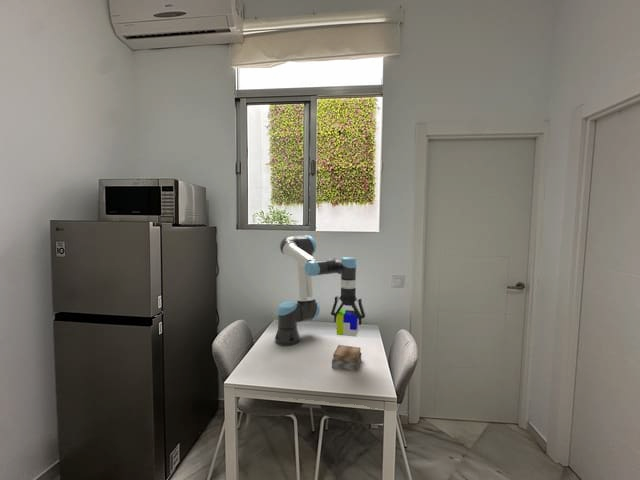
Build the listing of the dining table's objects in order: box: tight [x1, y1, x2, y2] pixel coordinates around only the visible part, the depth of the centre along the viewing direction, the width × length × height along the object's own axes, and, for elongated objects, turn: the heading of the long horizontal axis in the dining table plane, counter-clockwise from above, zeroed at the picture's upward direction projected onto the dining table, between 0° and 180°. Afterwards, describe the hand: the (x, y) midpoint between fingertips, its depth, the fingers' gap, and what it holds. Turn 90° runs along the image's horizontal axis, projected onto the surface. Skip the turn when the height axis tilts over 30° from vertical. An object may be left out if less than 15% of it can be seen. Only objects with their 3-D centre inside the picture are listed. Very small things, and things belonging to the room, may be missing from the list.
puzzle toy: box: [336, 309, 358, 337], centre depth 159 cm, size 10×10×10 cm
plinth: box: [331, 344, 362, 373], centre depth 160 cm, size 13×13×7 cm
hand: (347, 329), depth 159 cm, fingers closed on puzzle toy, 10 cm apart
